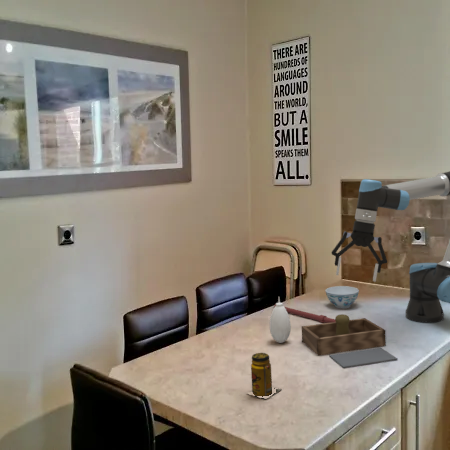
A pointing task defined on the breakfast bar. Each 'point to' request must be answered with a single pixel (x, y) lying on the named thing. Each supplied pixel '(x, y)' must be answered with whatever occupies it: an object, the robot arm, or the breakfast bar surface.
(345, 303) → the chinaware
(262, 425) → the breakfast bar surface
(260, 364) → the condiment
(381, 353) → the charcoal mat
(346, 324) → the olive dumbbell shape
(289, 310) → the red rod with collar
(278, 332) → the white bulb air blower
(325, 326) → the wooden box
